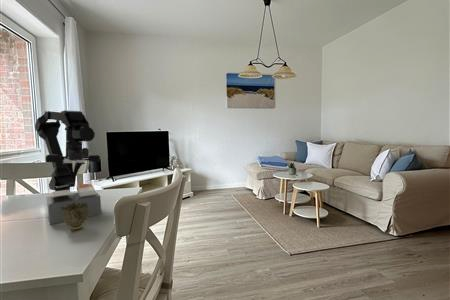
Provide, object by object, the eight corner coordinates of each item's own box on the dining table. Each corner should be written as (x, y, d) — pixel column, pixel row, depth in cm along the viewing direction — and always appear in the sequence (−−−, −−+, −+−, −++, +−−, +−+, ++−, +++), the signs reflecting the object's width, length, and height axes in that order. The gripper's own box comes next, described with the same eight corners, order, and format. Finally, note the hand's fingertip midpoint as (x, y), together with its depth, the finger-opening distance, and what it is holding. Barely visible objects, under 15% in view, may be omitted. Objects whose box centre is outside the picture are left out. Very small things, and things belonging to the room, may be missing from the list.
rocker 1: (51, 197, 90) (51, 191, 91) (67, 194, 94) (67, 189, 94) (53, 198, 84) (52, 192, 84) (70, 195, 87) (69, 189, 87)
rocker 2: (76, 189, 95) (76, 185, 95) (91, 187, 98) (91, 183, 98) (80, 197, 89) (79, 192, 89) (95, 195, 92) (95, 190, 92)
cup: (77, 235, 75) (75, 209, 74) (56, 233, 76) (54, 208, 75) (95, 225, 82) (93, 202, 81) (76, 224, 83) (74, 201, 83)
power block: (47, 215, 93) (46, 196, 93) (94, 206, 103) (93, 189, 102) (49, 224, 84) (48, 203, 83) (101, 213, 93) (100, 195, 93)
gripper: (46, 140, 89) (45, 183, 89) (103, 142, 100) (102, 180, 100) (45, 140, 98) (45, 180, 98) (98, 142, 109) (97, 177, 109)
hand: (73, 179), depth 101 cm, fingers closed
